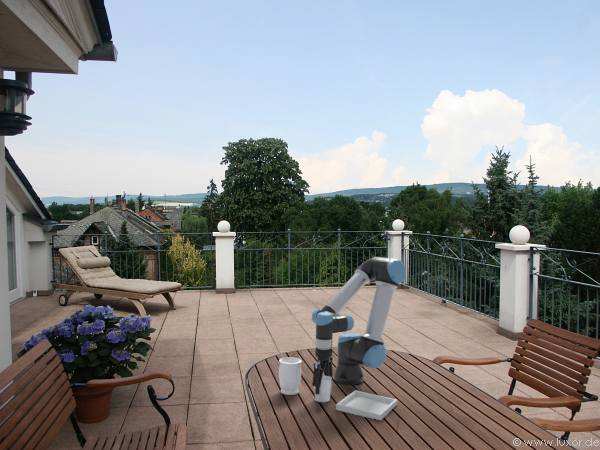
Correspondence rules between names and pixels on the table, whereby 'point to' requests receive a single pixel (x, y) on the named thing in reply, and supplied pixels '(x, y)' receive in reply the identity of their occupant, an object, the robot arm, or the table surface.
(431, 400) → the table surface
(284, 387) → the jar
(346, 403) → the grey tray
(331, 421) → the table surface
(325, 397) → the white cup
